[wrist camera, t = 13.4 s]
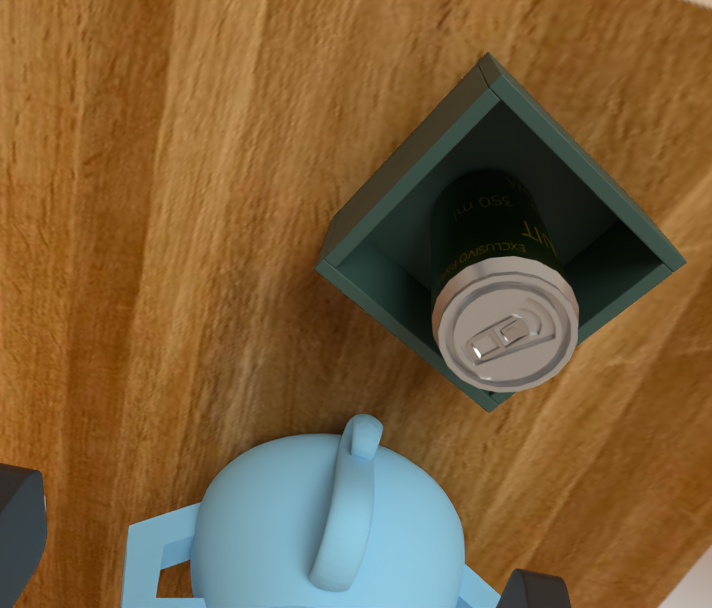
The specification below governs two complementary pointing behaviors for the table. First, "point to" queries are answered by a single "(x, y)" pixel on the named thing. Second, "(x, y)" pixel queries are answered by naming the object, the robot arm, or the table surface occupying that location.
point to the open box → (502, 155)
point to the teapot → (311, 533)
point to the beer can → (498, 286)
